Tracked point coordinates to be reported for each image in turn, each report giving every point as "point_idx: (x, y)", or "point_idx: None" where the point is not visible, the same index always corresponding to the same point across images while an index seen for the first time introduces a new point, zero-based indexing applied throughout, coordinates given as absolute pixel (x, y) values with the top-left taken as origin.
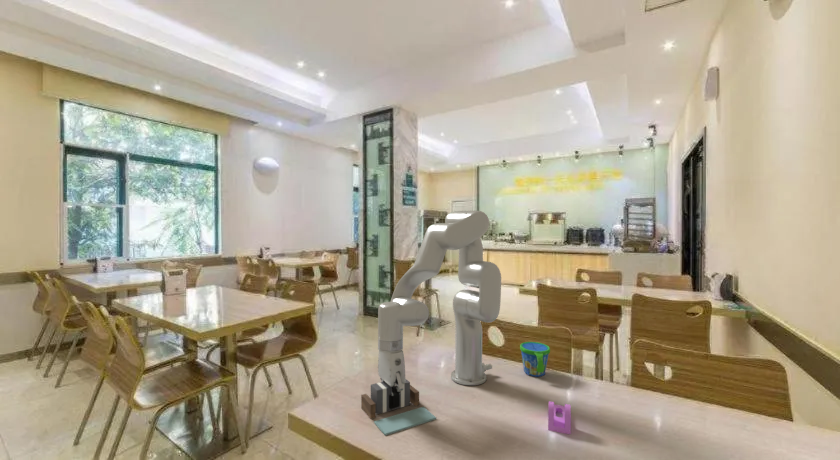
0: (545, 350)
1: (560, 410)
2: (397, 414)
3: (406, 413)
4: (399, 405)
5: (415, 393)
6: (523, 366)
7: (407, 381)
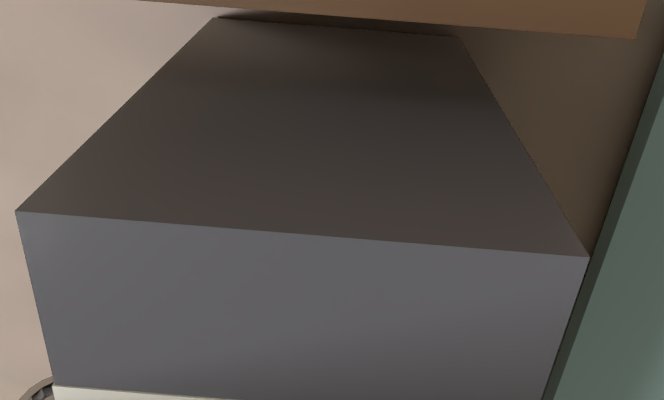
0: None
1: None
2: (582, 331)
3: (655, 242)
4: None
5: (631, 17)
6: None
7: (470, 289)
